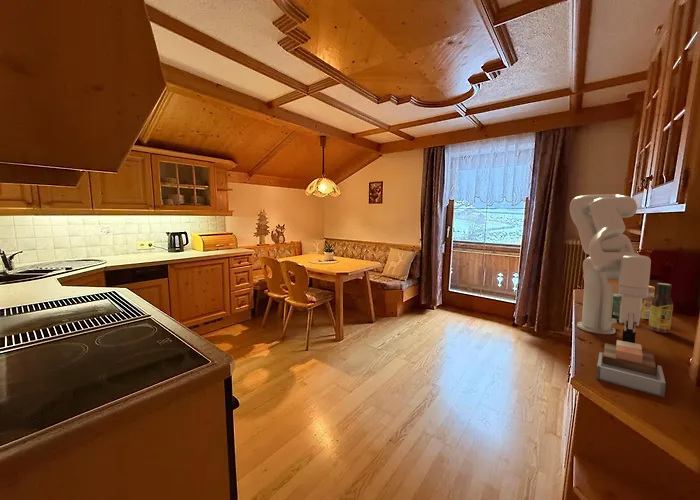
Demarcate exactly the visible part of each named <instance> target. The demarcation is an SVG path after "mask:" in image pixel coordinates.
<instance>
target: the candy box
mask: <svg viewBox="0 0 700 500" xmlns="http://www.w3.org/2000/svg"><path fill="white" fill-rule="evenodd" d="M655 291H656V288H655V286H652V285H649V289H648V297H646V298H643V299H642V309H641V316H640V319H641V320H649V317H650V309H651V304H652V299H653V297H654V296H655Z"/></svg>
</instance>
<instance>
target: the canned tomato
mask: <svg viewBox="0 0 700 500" xmlns="http://www.w3.org/2000/svg"><path fill="white" fill-rule="evenodd" d="M621 296H622V295H620V294H618V292H614V293H613V305H612V318H611V319H616V320H618V321H619V315H620V303H621Z"/></svg>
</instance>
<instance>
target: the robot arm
mask: <svg viewBox="0 0 700 500" xmlns="http://www.w3.org/2000/svg"><path fill="white" fill-rule="evenodd" d="M637 211H638V205H637V201H636V200H635V199H634V198H633V197H631V196H630V195H623V194H616V193H613V194H612V193H609V194H608V193H607V194H606V193H605V194H604V193H603V194H585V195H579V196H575V197H574V198H573V199H571V201H570V203H569V215H570V218H571V220H572V222H573V224H574V225H575V227H576V228H577V231H578V236H579V239H580V243H581V244H580V245H581V247H582V250H583V252H584V253H585V254H586V255H589V256H588V257H586V258H584V260H583V261H582V270H583V278H584V279H583V281H584V282H583V286H584V287H583V299H582V313H581V321H578V322H577V323H576V326H577V327H578V328H579V329H581V330H583V331H585V332H588V333H592V334H597V335H614V334H615V333H616V330H617V329H616V328H614V327H613V326H612V325H613V324H617V322H618V321H619V324H620V325H621V324H623V325H624V326H623V328H622V338H621V341H625V342H631V343H636V334H637V333H636V327H637V326H638V327H639V325H640V320H641V318H640V316H641V309H642V299H643V298H646V297H648V289H649V286H650V276H651V267H652V266H651V264H652V260H651V258H650V257H649V256H646V255H642V254H641V255H640V254H639V253H637V252H635V251H634V250H635V249H634V247H633V244H632V242H631V240H630V238H629V236H627V235H625V234H623V233H624V232H625V231H626V225H625V223H624V220H623V218H631V217H633V216H634V215H635V214H636V213H637ZM612 279H613V280H618V286H617V287H618V288H617V293H618V294H620V295H622V296H621V303H620V315H619V320H618V321H617V320H616V319H611V318H612V305H613V293H615V292H614V287H613V286H612V285H611V284H610V282H609V281H608V280H612Z"/></svg>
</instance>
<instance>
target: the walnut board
mask: <svg viewBox="0 0 700 500" xmlns="http://www.w3.org/2000/svg"><path fill="white" fill-rule="evenodd" d="M642 355H643V358H642V364H641V363H637V362H633V361H628V360H624V359H619V358H616V344H612V343H607V342H605V343H604V347H603V355H602V363H604V364H608V365H612V366H616V367H620V368H624V369H628V370H633V371H637V372H641V373H645V374H649V375H653V376H656V375H657V366H656V360H655V357H654V353H653V352H651V351H646V350H642Z"/></svg>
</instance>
